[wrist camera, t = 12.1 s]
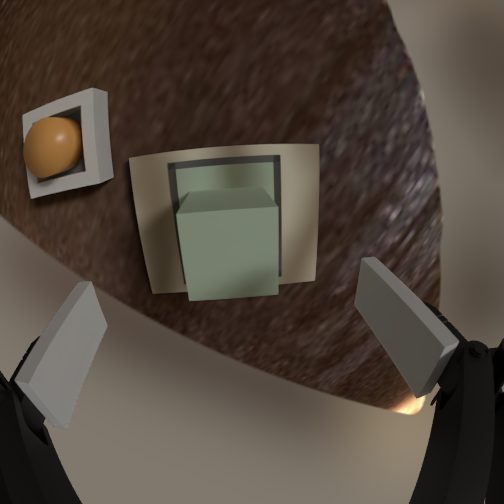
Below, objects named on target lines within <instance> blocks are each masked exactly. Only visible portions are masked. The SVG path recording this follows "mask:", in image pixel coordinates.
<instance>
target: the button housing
mask: <svg viewBox="0 0 504 504" xmlns="http://www.w3.org/2000/svg"><path fill="white" fill-rule="evenodd" d="M45 117H58V118H71V119H73V120H75V121H76V122H77V123H78V124H79V125H80V127H81V128H82V138H83V152H82V155H81V157H80V159H79V161H78V162H77V163H76V165H75V166H74V167H72V168H71V169H69V170H67V171H64V172H61V173H58V174H55V175H51V176H48V177H44V178H40V177H37V176H35V175H33V174H32V173H31V172H30V171H29V169H28V168H27V166H26V169H27V177H28V184H29V190H30V196H31V199H33V198H36V197H40V196H44V195H48V194H52V193H57V192H61V191H65V190H70V189H74V188H79V187H84V186H89V185H94V184H99V183H102V182H104V181H107V180H109V179H111V178H114V176H113V168H112V159H111V149H110V137H109V122H108V96H107V92H105V91H102V90H99V89H96V88H90V89H87V90H84V91H81V92H78V93H75V94H72V95H69V96H67V97H64V98H61V99H59V100H56V101H54V102H51V103H49V104H46V105H44V106H42V107H39V108H37V109H35V110H33V111H30V112H28V113H26V114H24V115H23V136H24V142H25V138H26V135H27V133H28V131H29V129H30V128H31V127H32V125H33V124H34V123H35V122H37V121H38V120H40V119H42V118H45Z"/></svg>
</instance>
